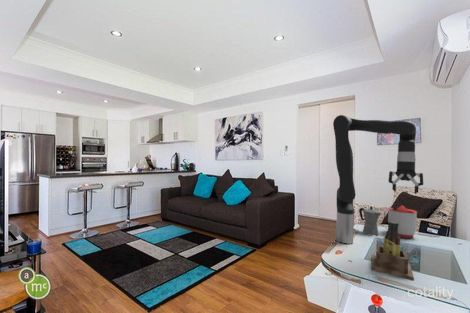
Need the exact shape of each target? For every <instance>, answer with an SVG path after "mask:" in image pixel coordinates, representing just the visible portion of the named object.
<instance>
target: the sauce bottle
mask: <svg viewBox="0 0 470 313" xmlns="http://www.w3.org/2000/svg"><path fill="white" fill-rule="evenodd" d="M387 225H388V226H387V231H386V233H385V236H384V237H383V246H384V250H383V253H384V254H389V255H393V256H398V257H400V250H401V237H400V236H399V235H398V226H399V223H398V222H395V221H387Z"/></svg>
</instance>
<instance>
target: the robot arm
mask: <svg viewBox="0 0 470 313" xmlns="http://www.w3.org/2000/svg"><path fill="white" fill-rule="evenodd" d="M332 124H333V125H332V126H333V131H334V137H335V138H334V139H335V140H334V141H335V164H336V170H337V173H338V177H339V187H338V188H337V190H336V224H335V241H336V242H338V241H339V242H338V243H340V242H342V243H341V244H344V243H347V244H346V245H351V243H352V244H354V229H355V228H354V225H355V224H354V222H355V220H354V219H355V209H354V200H355V198H356V190H355V189H356V187H355V184H354V183H355V182H354V154H353V150H352V149H353V148H352V146H351V142H350V139H349V138H350V137H349V131H350V132H353V131H357V132H358V131H359V132H366V133H368V132H369V133H375V134H384V135H391V134H393V135H399V141H398V144H397V146H398V147H397V156H396V171H392V170H391V171H389V173H388V183H390V184H392V186H391V187H392V190H393V192H396V191H397V183H398V182H399V181H406V182H411V183H413V184H414V194H415V195H416V194H417V193H419V187H420V186H423V185H424V173H423V172H420V173H419V172H418V173H416V143H415V142H416V135H417V127H416V125H415V124H414V122H411V121H410V120H409V121H406V120H383V119H369V120H368V119H365V120H364V119H357V118H352V117H350V116H346V115H343V114H340V115H337V116H336V117H335V118H334V119H333V123H332ZM394 175H396V176H397V177H396V179H394V180H393V176H394ZM416 176H417V177H418V178H419V182H417V181H416V179H415V177H416Z"/></svg>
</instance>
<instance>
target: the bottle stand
mask: <svg viewBox="0 0 470 313" xmlns="http://www.w3.org/2000/svg"><path fill="white" fill-rule="evenodd" d="M383 250H384V245H379V244H377V245H376V254H372V256H371V270H372V271H374V270H375V272H379V273H383V274H387V273H388V274H387V275H392V276H396V277H400V278H403V279H408V280H411V281H414V280H415V277H414V276H415V275H414V273H413V270H412V267H411V264H410V262H409V257H408V254H407V251H406V250H405V249H400V257H398V256H393V255H389V254H384V253H383Z"/></svg>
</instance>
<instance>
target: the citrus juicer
mask: <svg viewBox="0 0 470 313" xmlns="http://www.w3.org/2000/svg"><path fill="white" fill-rule="evenodd" d="M387 210H388V211H387V212H388V216H387V218H388V219H387V220H388V221H395V222H398V223H399V226H398V235H399V236H400V238H405V239H412V238H413V237H414V236H415V233H416V229H417V221H418V220H417V215H418V211H417V210H414V209H411V208H410V209H409V208H406V206H404V205H400V206H399V207H397V209H396V210H394V208H393V207H388V208H387ZM388 221H387V222H388Z"/></svg>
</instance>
